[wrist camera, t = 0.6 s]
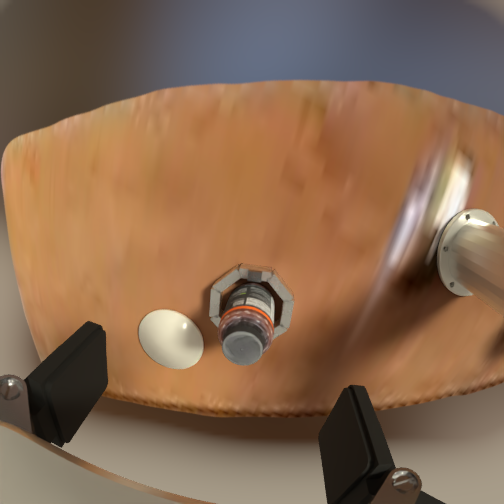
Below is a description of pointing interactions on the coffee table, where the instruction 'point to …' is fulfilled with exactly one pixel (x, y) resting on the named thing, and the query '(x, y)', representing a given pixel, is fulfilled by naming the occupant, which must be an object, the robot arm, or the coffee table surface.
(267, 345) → the supplement bottle
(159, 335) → the coaster
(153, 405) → the coffee table surface
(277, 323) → the ring holder
